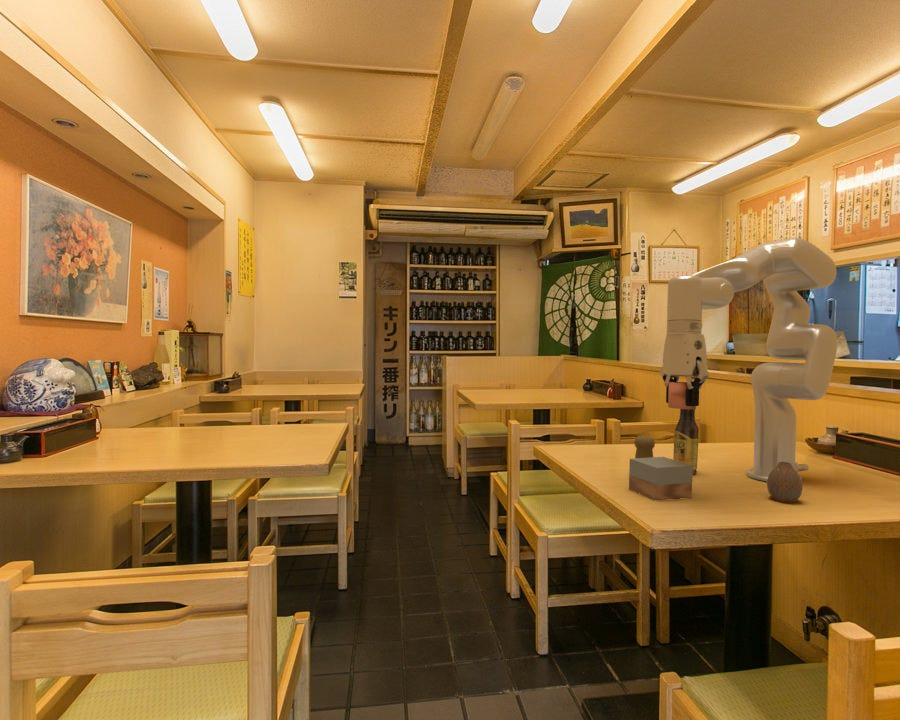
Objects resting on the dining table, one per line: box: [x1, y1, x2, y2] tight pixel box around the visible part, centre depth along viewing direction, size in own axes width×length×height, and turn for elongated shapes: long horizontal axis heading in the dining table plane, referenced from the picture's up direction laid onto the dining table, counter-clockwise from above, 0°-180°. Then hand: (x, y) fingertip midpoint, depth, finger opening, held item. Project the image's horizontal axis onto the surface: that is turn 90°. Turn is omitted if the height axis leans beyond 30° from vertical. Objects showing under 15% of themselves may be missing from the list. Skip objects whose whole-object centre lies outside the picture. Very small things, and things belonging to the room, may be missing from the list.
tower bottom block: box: [628, 475, 693, 501], centre depth 121 cm, size 10×10×4 cm
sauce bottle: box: [672, 409, 700, 475], centre depth 141 cm, size 7×6×20 cm
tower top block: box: [628, 456, 693, 485], centre depth 121 cm, size 10×10×4 cm
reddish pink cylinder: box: [667, 381, 697, 410], centre depth 119 cm, size 6×6×6 cm
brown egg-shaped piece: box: [766, 462, 804, 503], centre depth 116 cm, size 7×7×9 cm
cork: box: [634, 435, 656, 458], centre depth 137 cm, size 6×6×11 cm
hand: (681, 403), depth 119 cm, fingers closed on reddish pink cylinder, 6 cm apart
